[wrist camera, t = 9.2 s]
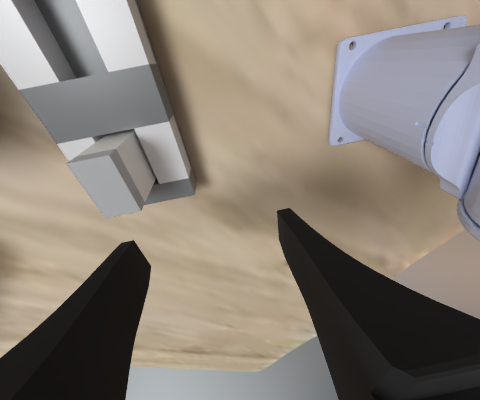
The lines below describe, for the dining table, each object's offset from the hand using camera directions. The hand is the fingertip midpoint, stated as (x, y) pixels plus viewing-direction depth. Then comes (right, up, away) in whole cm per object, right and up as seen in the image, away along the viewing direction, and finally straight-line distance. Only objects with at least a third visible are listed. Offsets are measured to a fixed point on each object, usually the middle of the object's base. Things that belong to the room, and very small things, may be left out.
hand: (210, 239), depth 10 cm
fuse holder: (-8, +10, +5) cm, 13 cm away
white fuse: (-7, +6, +7) cm, 12 cm away
